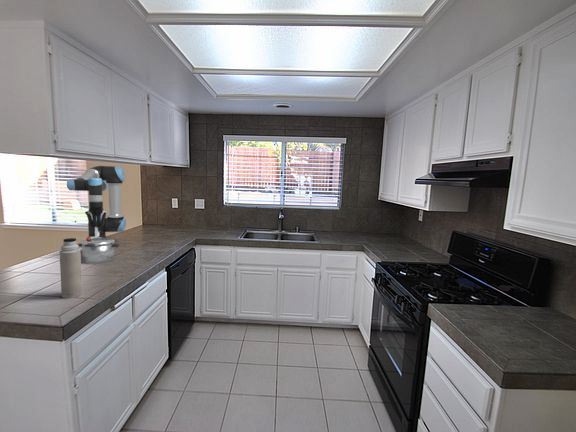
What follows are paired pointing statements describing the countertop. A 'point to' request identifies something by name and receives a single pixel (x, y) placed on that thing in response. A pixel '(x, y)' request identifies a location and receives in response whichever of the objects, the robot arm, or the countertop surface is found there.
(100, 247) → the cooker pot
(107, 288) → the countertop surface
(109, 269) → the countertop surface
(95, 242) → the cooker lid
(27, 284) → the countertop surface
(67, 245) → the thermos bottle
